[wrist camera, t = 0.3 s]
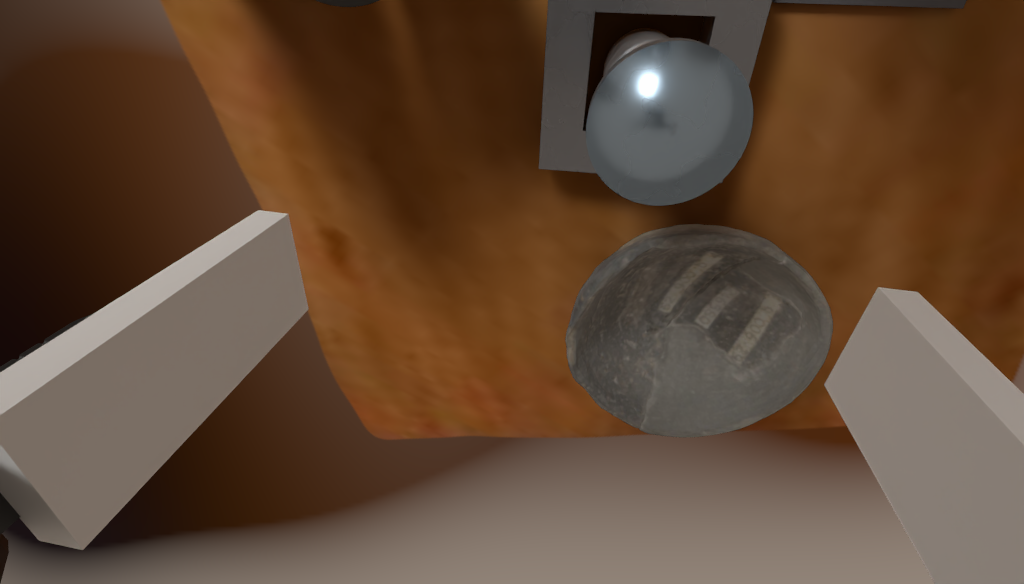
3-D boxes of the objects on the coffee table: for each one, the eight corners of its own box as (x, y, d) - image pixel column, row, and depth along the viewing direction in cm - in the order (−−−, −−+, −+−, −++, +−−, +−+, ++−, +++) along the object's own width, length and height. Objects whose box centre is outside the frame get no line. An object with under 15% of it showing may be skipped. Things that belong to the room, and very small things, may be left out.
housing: (556, -44, 29) (550, -48, 26) (764, -39, 27) (783, -43, 25) (544, 153, 35) (538, 168, 33) (712, 166, 34) (722, 183, 31)
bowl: (723, 399, 45) (743, 470, 38) (545, 341, 45) (534, 402, 38) (848, 236, 35) (905, 294, 28) (620, 160, 35) (623, 201, 28)
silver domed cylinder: (600, 15, 30) (595, 36, 17) (698, 19, 29) (776, 44, 16) (589, 114, 33) (578, 199, 20) (677, 119, 33) (728, 211, 19)
